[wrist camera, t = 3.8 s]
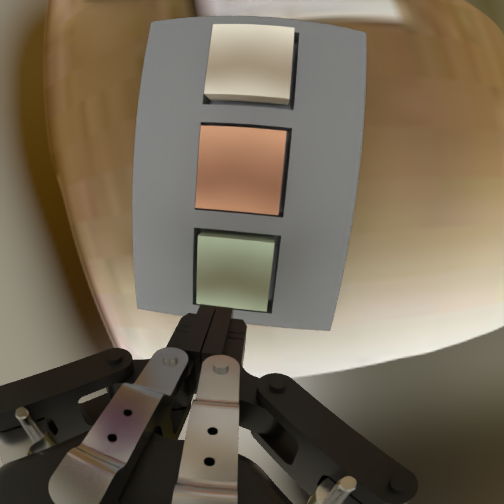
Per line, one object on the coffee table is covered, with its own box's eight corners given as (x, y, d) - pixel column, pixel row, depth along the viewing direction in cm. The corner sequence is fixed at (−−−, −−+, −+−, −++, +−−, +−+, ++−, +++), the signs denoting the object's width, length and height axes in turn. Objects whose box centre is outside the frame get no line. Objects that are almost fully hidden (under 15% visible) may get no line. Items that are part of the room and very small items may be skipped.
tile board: (164, 35, 18) (151, 21, 15) (355, 46, 17) (366, 32, 14) (150, 292, 24) (137, 308, 22) (324, 311, 24) (330, 330, 21)
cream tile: (218, 35, 16) (213, 24, 14) (292, 39, 15) (294, 27, 14) (210, 100, 17) (203, 93, 15) (287, 105, 17) (289, 98, 15)
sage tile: (204, 228, 21) (197, 235, 19) (274, 235, 21) (274, 243, 19) (202, 291, 22) (196, 303, 21) (266, 298, 22) (266, 311, 20)
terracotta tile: (207, 128, 18) (200, 125, 16) (284, 134, 18) (286, 131, 16) (202, 202, 19) (195, 207, 17) (277, 209, 19) (278, 215, 17)
